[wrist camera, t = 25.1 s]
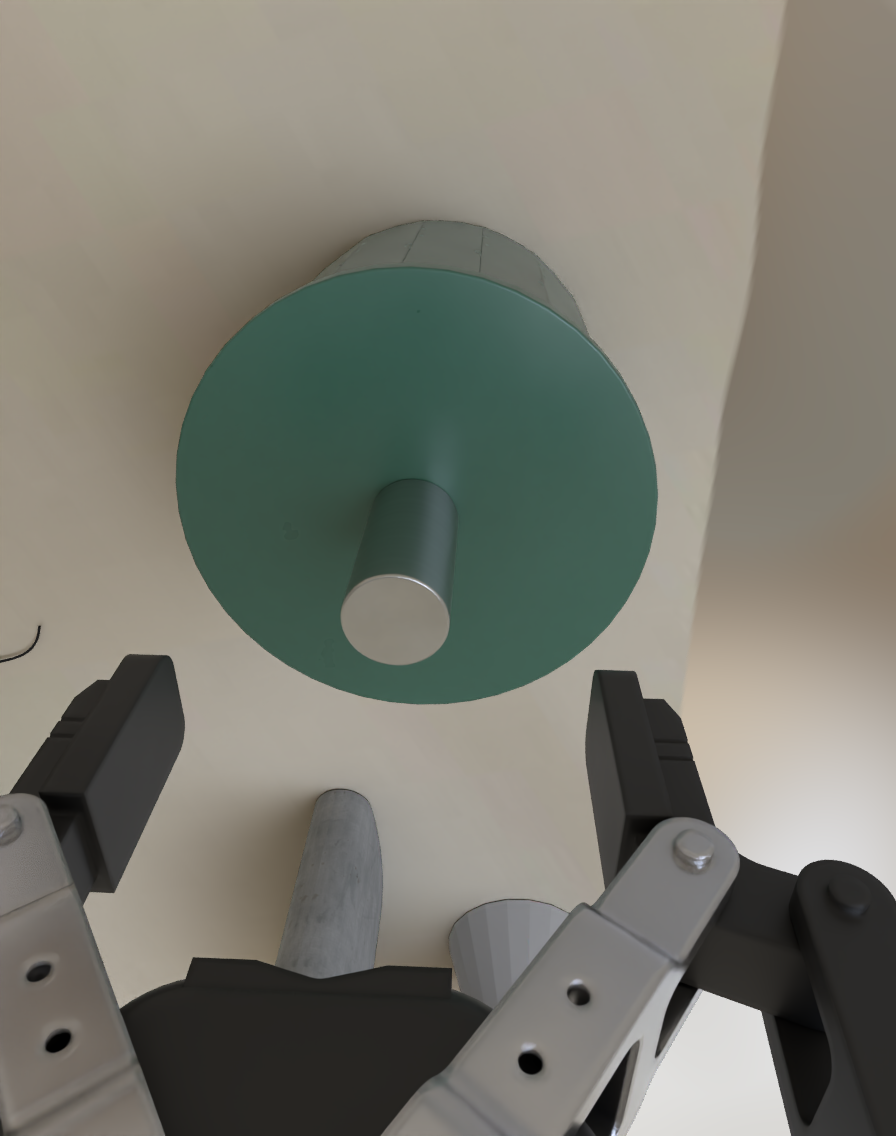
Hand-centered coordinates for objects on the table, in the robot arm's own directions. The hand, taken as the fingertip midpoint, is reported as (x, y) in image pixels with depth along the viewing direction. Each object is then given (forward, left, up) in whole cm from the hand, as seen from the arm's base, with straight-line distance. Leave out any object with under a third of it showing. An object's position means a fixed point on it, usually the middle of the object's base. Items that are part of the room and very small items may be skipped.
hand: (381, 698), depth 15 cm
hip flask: (+3, -31, -20) cm, 37 cm away
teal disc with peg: (0, 0, -8) cm, 8 cm away
